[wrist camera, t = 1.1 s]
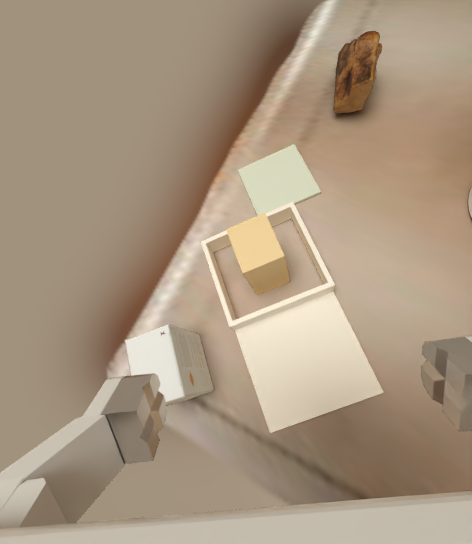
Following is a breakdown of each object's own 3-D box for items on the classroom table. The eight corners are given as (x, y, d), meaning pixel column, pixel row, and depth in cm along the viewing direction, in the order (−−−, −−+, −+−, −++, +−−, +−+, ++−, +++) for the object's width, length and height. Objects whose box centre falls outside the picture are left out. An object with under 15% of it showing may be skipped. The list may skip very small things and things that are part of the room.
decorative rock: (366, 127, 47) (381, 61, 37) (327, 126, 49) (331, 63, 39) (376, 69, 50) (392, -7, 40) (338, 70, 52) (345, -2, 42)
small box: (165, 346, 43) (123, 338, 34) (200, 333, 43) (168, 321, 33) (177, 404, 40) (135, 414, 31) (215, 391, 40) (184, 397, 30)
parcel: (274, 245, 44) (265, 212, 35) (290, 281, 42) (284, 255, 33) (243, 259, 45) (225, 229, 36) (257, 295, 43) (242, 273, 33)
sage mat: (294, 146, 49) (294, 144, 48) (320, 193, 45) (320, 191, 45) (238, 171, 50) (237, 169, 49) (259, 219, 46) (258, 218, 46)
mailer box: (294, 213, 45) (292, 201, 42) (382, 392, 35) (390, 394, 32) (208, 250, 47) (200, 241, 43) (270, 432, 37) (266, 438, 33)
